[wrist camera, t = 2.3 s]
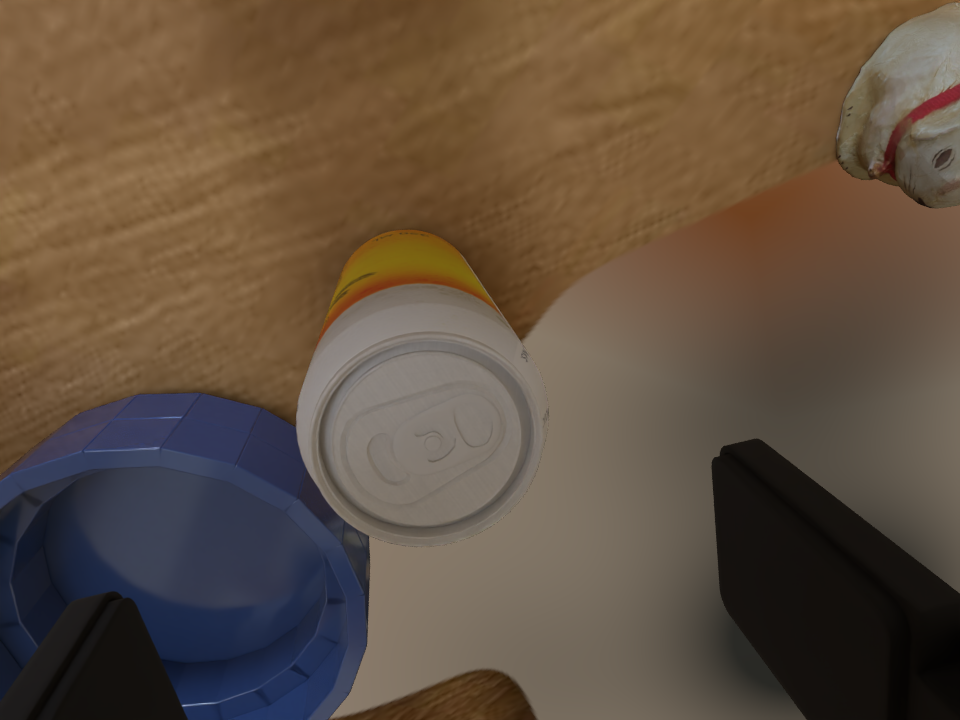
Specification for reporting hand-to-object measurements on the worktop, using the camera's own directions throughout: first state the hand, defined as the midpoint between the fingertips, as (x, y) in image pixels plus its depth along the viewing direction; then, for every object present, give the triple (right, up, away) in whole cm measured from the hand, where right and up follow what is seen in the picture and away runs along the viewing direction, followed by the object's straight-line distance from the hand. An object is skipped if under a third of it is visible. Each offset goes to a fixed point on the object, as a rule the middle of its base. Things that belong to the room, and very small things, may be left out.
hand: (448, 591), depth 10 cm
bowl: (-13, -5, +21) cm, 25 cm away
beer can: (-3, +7, +18) cm, 20 cm away
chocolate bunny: (+19, +15, +19) cm, 31 cm away
